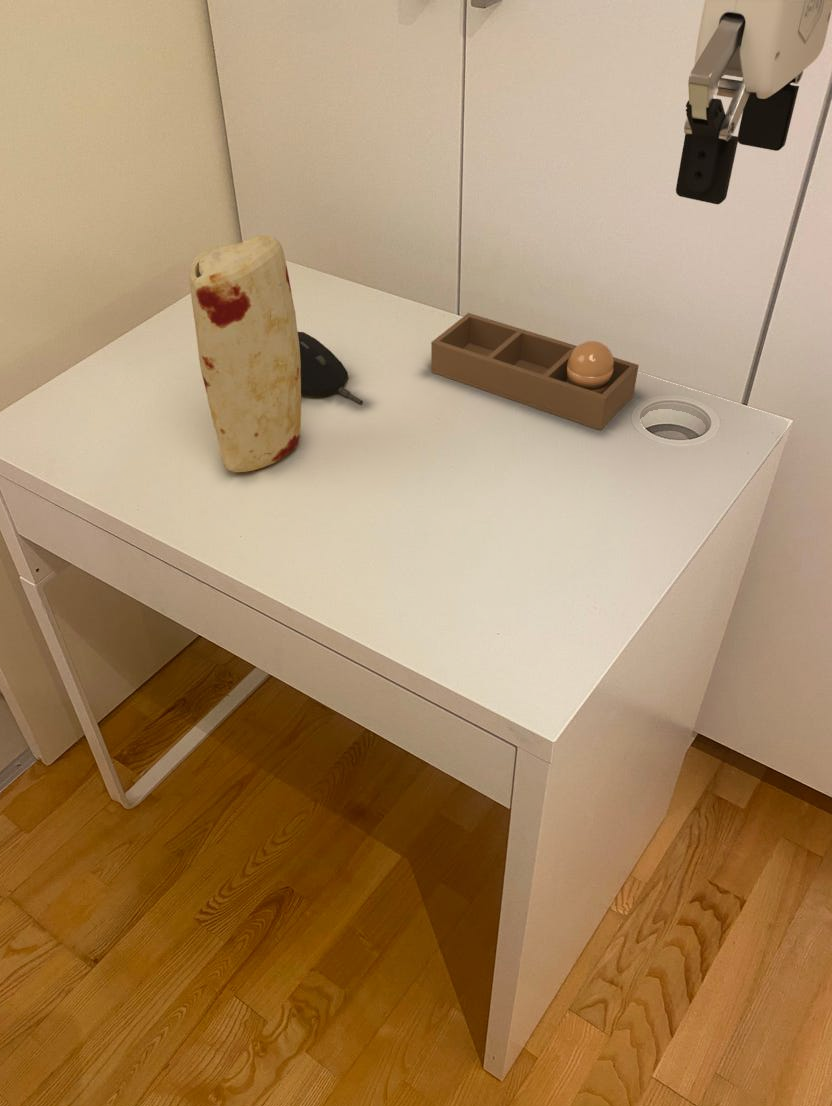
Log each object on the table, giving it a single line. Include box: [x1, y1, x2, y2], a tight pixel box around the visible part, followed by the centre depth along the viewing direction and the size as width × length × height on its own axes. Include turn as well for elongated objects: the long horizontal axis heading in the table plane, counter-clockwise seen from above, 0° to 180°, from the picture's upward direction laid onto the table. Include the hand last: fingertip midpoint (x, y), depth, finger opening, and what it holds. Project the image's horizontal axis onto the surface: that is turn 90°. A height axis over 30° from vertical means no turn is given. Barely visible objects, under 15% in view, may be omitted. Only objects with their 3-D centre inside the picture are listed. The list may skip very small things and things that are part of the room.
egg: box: [566, 340, 614, 394], centre depth 92 cm, size 4×4×6 cm
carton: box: [430, 312, 640, 431], centre depth 96 cm, size 7×19×3 cm, turn 52°
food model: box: [188, 235, 302, 473], centre depth 85 cm, size 10×7×20 cm
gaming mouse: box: [298, 331, 364, 405], centre depth 99 cm, size 6×15×4 cm, turn 46°
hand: (731, 171), depth 66 cm, fingers open, 9 cm apart
